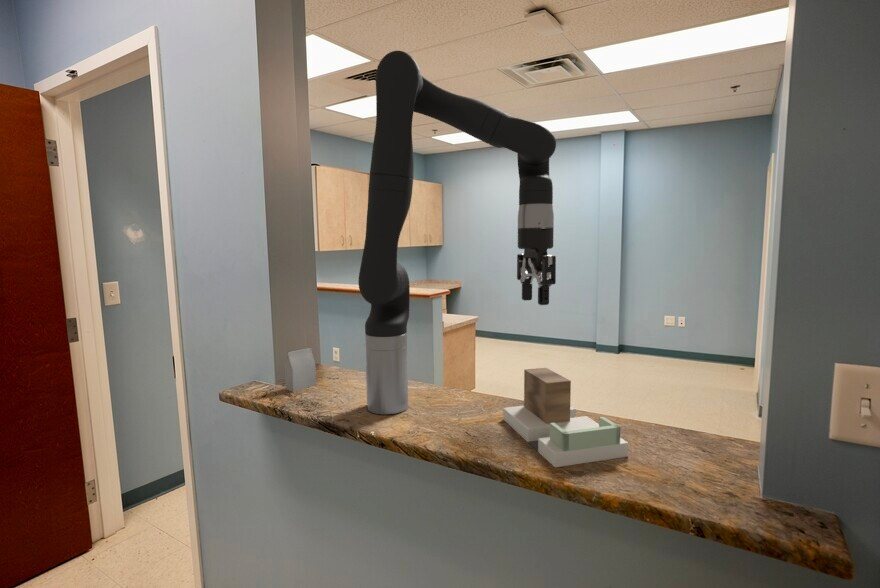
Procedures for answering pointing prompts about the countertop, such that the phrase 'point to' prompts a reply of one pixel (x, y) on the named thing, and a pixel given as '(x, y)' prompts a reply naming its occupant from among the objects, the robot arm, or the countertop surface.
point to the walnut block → (547, 395)
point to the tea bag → (300, 370)
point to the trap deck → (568, 437)
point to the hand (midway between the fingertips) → (534, 302)
